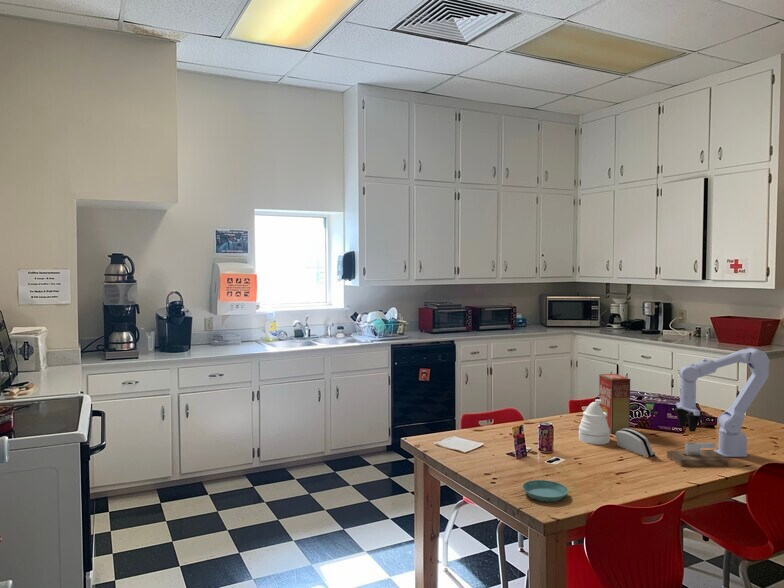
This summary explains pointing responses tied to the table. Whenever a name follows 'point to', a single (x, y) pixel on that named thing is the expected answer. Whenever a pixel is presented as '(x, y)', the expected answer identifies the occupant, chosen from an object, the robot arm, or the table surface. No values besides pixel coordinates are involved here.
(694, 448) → the bracket
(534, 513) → the table surface
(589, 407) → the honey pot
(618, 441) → the napkin holder
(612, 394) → the food packaging
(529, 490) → the saucer
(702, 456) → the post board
